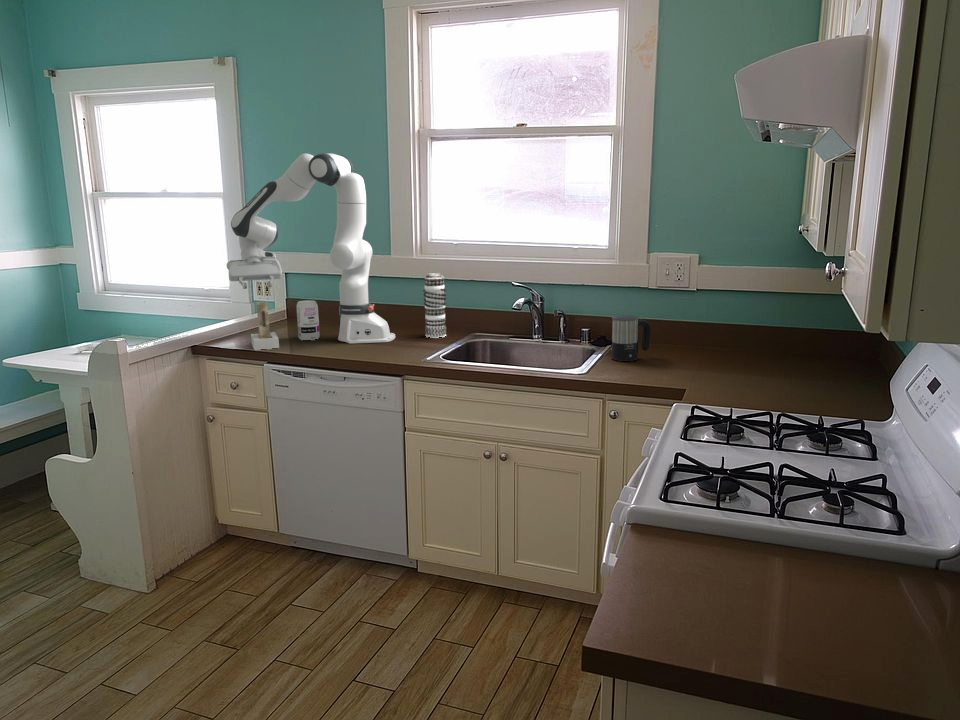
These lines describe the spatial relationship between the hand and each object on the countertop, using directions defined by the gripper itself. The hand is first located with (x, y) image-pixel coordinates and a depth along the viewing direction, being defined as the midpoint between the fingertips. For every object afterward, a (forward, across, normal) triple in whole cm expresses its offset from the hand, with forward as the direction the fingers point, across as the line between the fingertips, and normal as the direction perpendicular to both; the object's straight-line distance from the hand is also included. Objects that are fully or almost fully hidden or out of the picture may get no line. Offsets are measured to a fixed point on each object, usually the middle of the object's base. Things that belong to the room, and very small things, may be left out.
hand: (257, 287), depth 294 cm
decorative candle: (+30, +66, 0) cm, 72 cm away
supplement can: (+19, +18, +12) cm, 28 cm away
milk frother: (+74, +114, -43) cm, 142 cm away
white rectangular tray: (+24, 0, +6) cm, 24 cm away
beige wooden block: (+22, 0, +5) cm, 23 cm away
